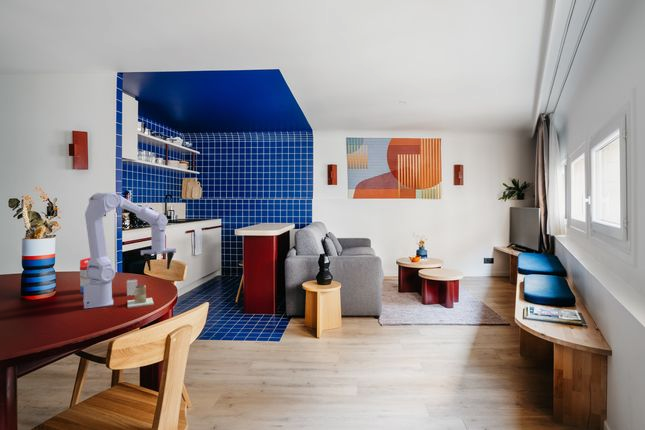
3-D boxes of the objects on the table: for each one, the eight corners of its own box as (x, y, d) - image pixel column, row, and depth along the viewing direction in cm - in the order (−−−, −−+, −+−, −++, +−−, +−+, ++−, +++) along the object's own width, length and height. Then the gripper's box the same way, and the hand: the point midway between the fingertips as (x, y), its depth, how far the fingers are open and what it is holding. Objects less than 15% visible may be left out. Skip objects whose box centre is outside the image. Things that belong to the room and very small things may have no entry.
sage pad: (127, 307, 138) (127, 306, 138) (127, 302, 146) (127, 300, 146) (153, 304, 142) (153, 303, 142) (152, 299, 150) (152, 297, 150)
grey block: (127, 295, 155) (126, 282, 155) (127, 293, 159) (126, 280, 159) (137, 294, 157) (137, 281, 157) (137, 292, 161) (137, 279, 161)
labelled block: (134, 303, 141) (134, 287, 141) (134, 301, 145) (134, 285, 145) (146, 302, 143) (145, 286, 143) (145, 299, 147) (145, 284, 147)
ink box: (90, 292, 160) (90, 260, 159) (80, 292, 160) (79, 260, 160) (103, 288, 169) (102, 257, 168) (92, 288, 169) (91, 256, 168)
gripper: (174, 238, 171) (174, 266, 172) (140, 239, 164) (140, 269, 165) (176, 239, 165) (176, 269, 166) (140, 241, 158) (141, 272, 159)
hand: (159, 269), depth 165 cm, fingers open, 7 cm apart
